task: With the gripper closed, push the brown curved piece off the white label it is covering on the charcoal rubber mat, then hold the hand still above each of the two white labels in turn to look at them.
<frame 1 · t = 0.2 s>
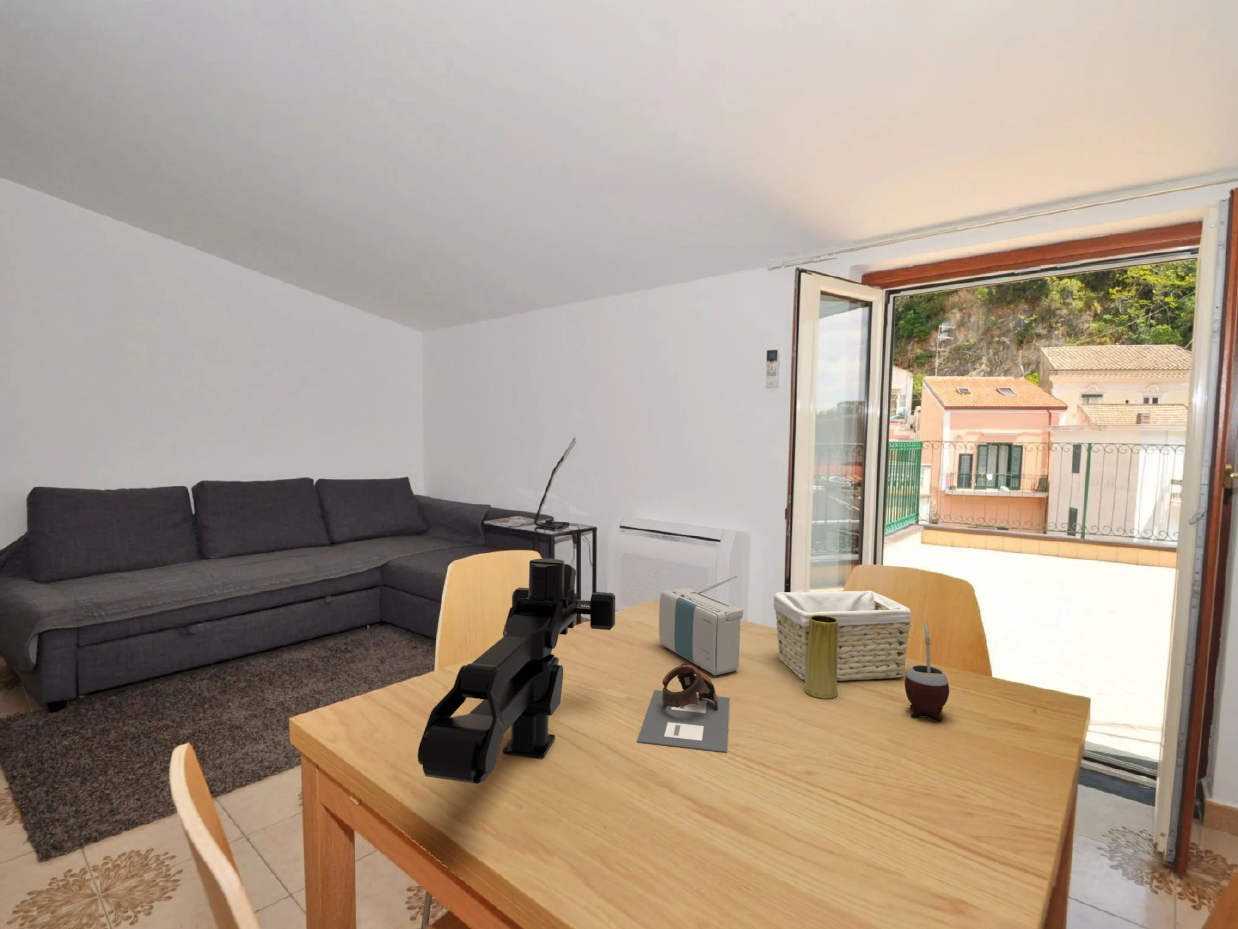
hand: (575, 598, 120), 17 cm above the table, tool horizontal, fingers open, 9 cm apart
label mat: (686, 718, 107), on the table
storage basket: (837, 669, 132), on the table
stereo radio cassette player: (698, 660, 135), on the table
mate gourd: (924, 714, 111), on the table
vase: (820, 693, 119), on the table
brown curved piece: (689, 706, 112), resting on label mat
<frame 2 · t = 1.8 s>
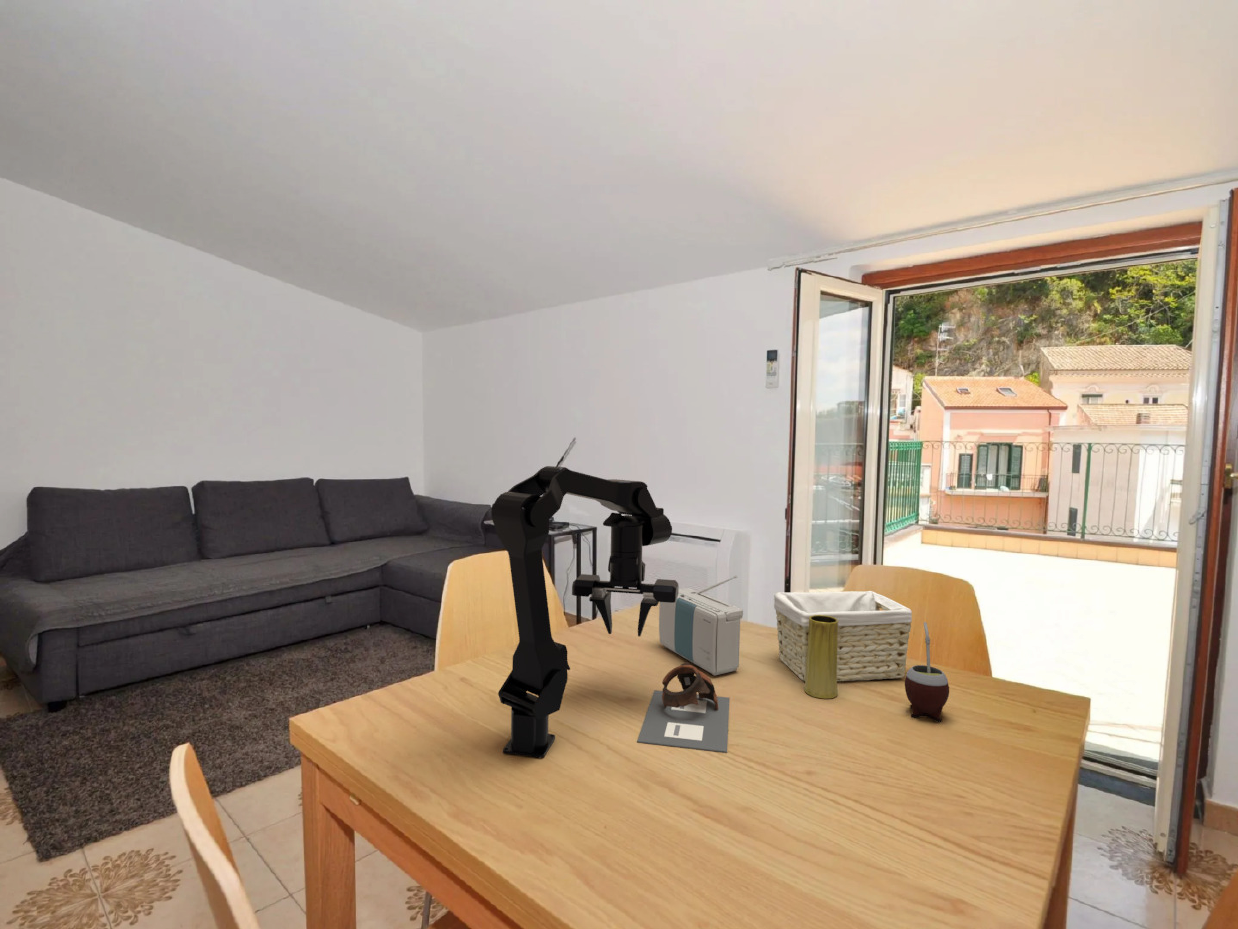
hand: (624, 634, 113), 12 cm above the table, tool pointing down, fingers open, 5 cm apart
nothing on the table moved.
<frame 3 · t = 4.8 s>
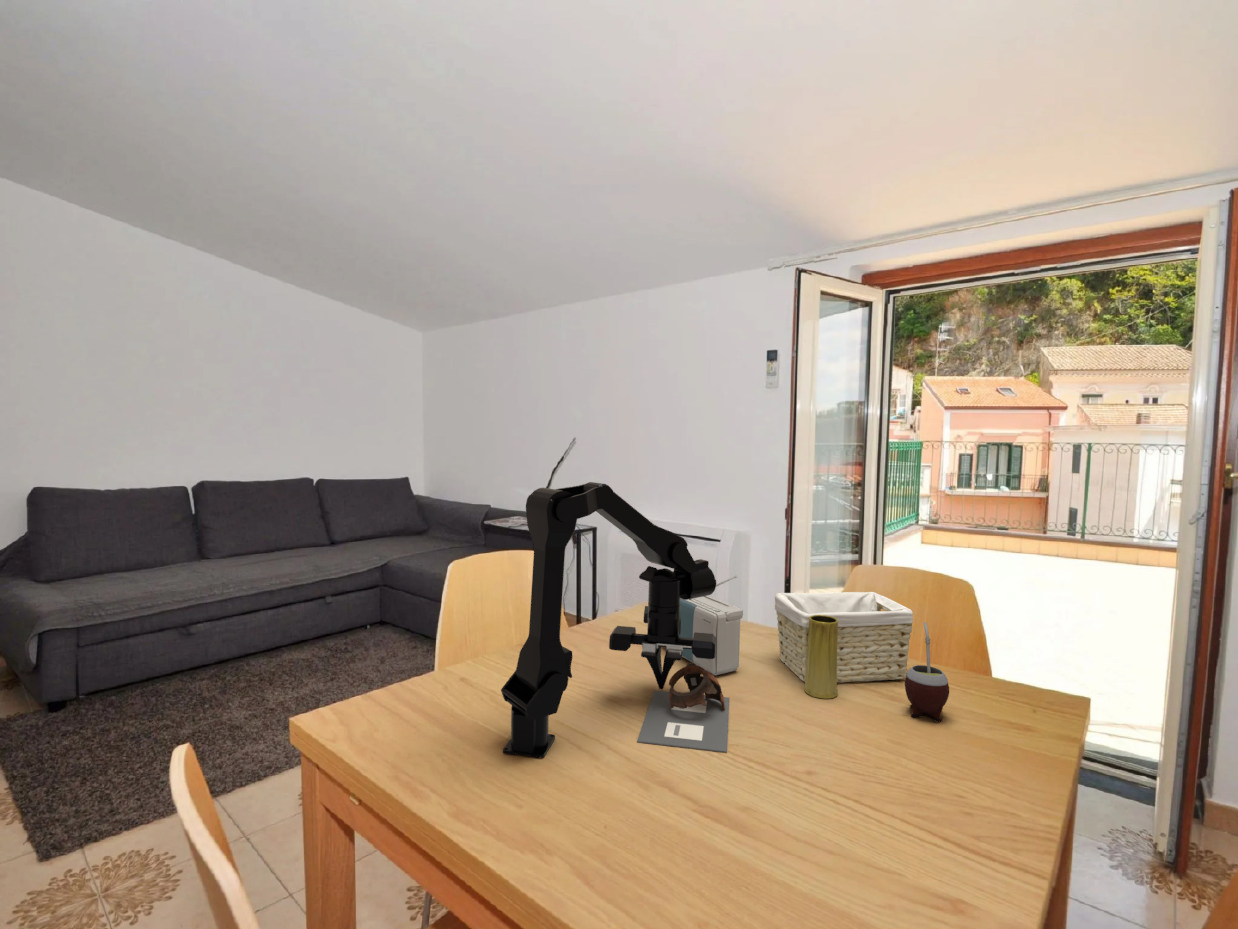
hand: (661, 688, 113), 3 cm above the table, tool pointing down, fingers closed
brown curved piece: (695, 706, 112), resting on label mat, touching gripper
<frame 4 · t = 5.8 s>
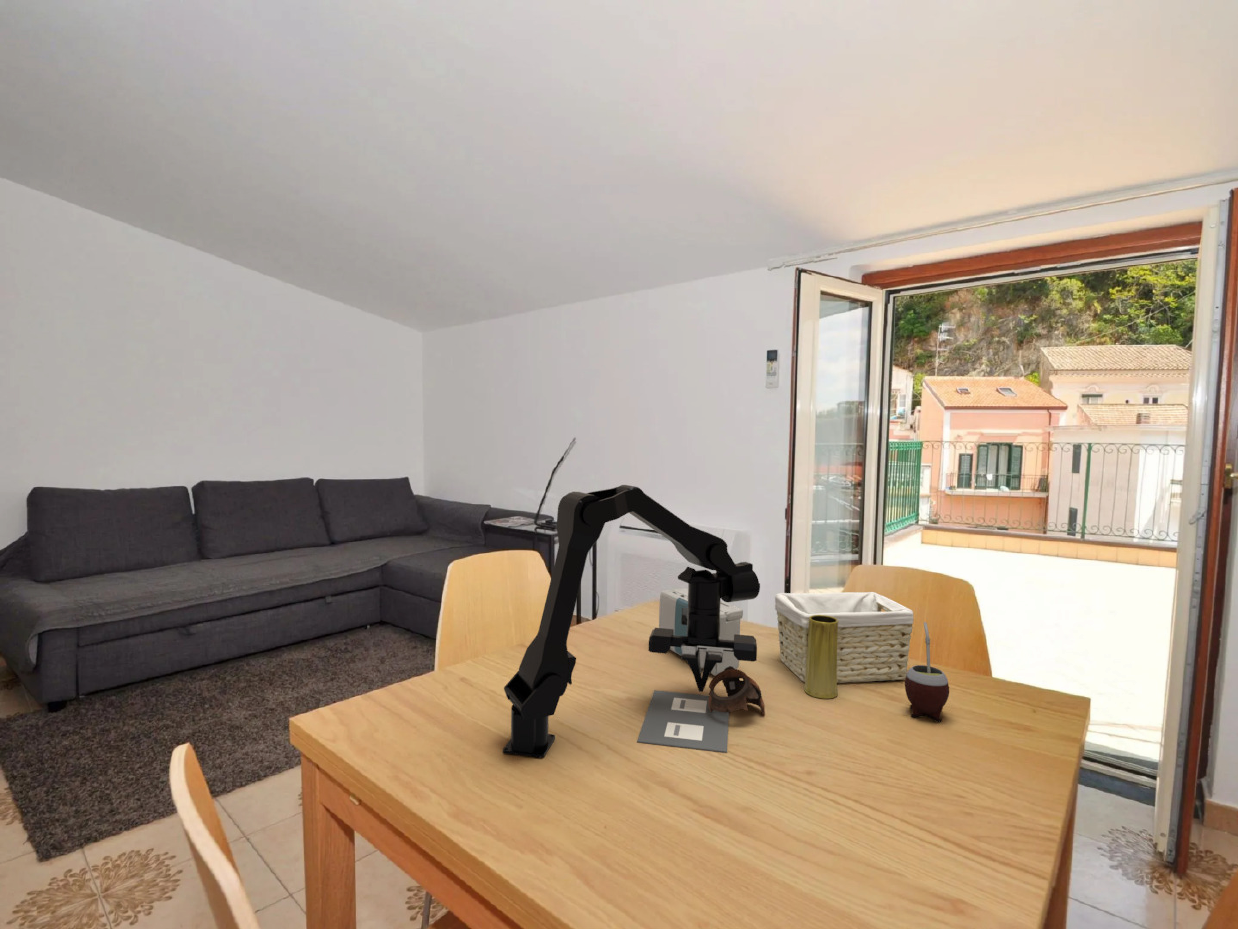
hand: (701, 691, 111), 3 cm above the table, tool pointing down, fingers closed
brown curved piece: (734, 710, 110), on the table, touching gripper, label mat
everything else where it was.
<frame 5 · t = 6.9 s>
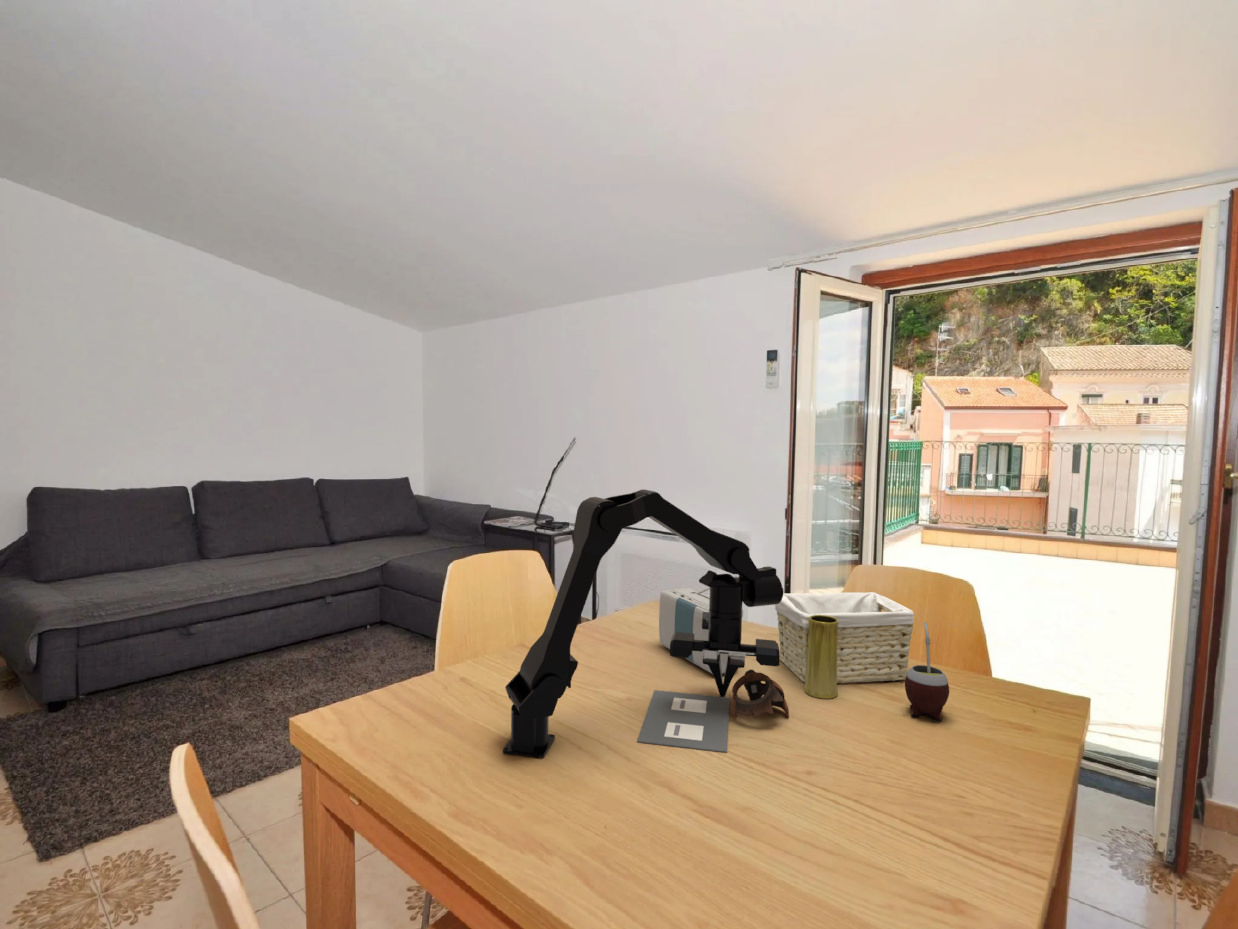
hand: (722, 696, 110), 2 cm above the table, tool pointing down, fingers closed
brown curved piece: (758, 714, 110), on the table, touching gripper
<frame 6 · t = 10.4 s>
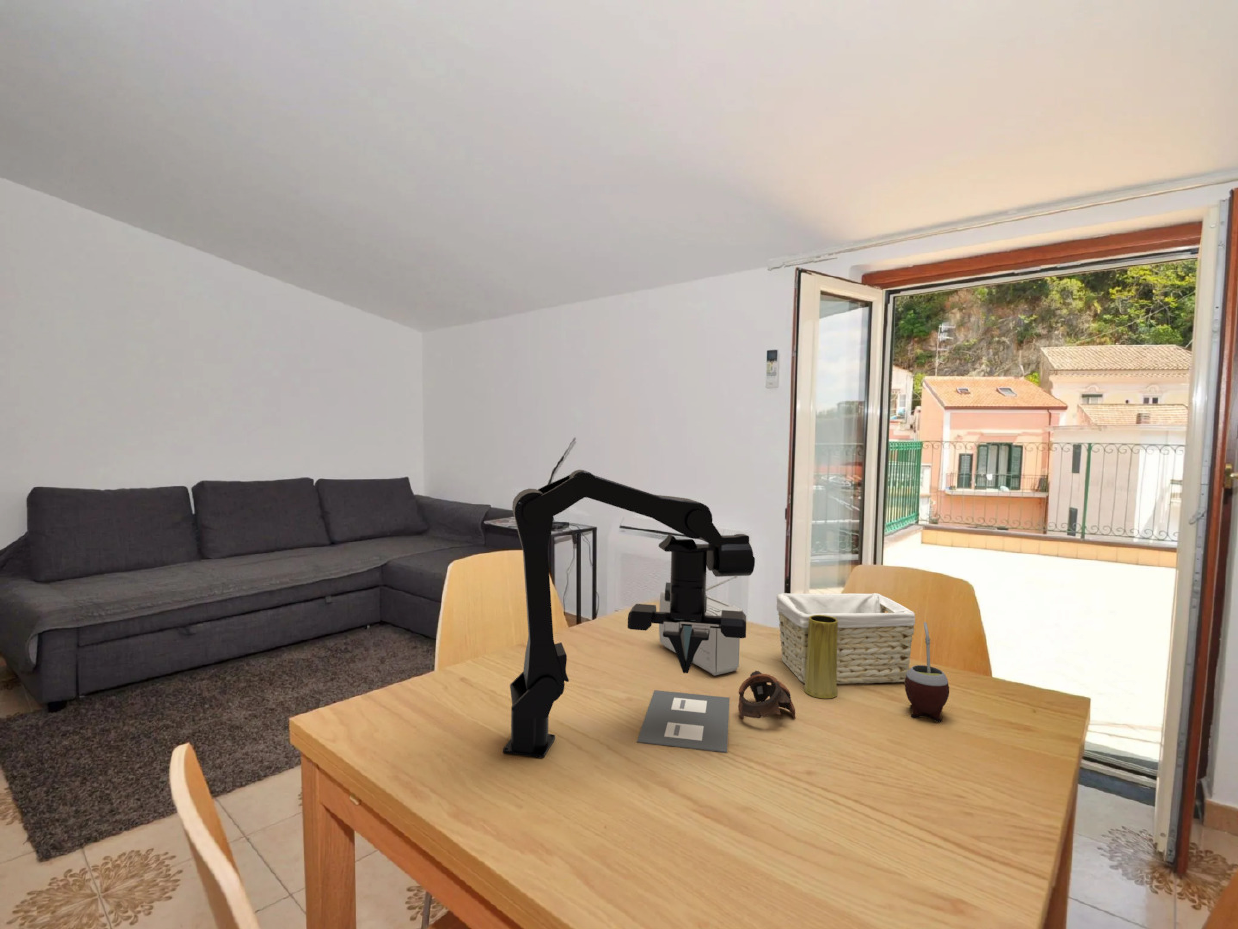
hand: (685, 672, 102), 10 cm above the table, tool pointing down, fingers closed
brown curved piece: (764, 715, 109), on the table
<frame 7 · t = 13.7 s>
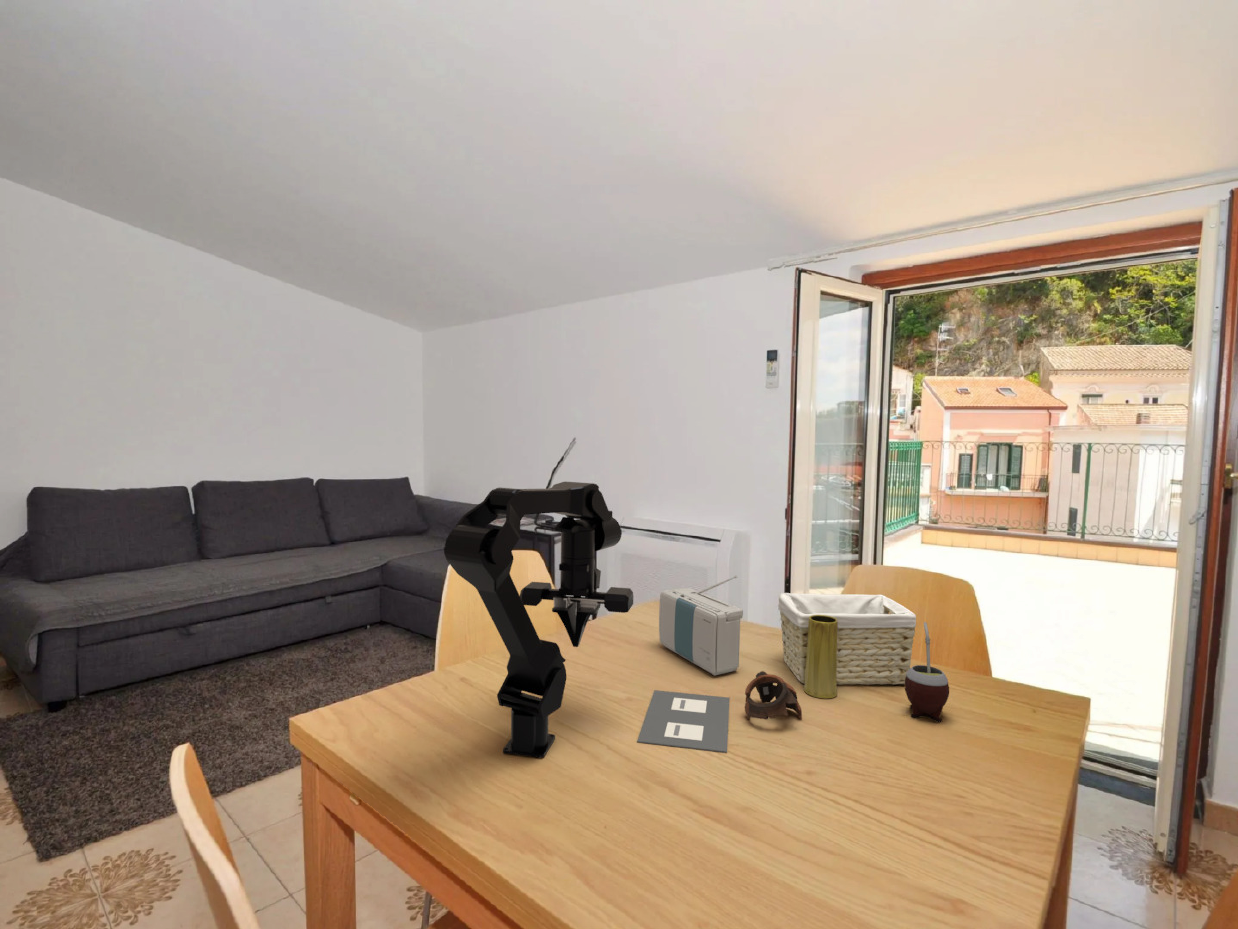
hand: (576, 646, 107), 12 cm above the table, tool pointing down, fingers closed
brown curved piece: (771, 716, 109), on the table
at the end: brown curved piece inside the target area (1.7 cm from its centre), on the table; brown curved piece tilted 0° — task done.
